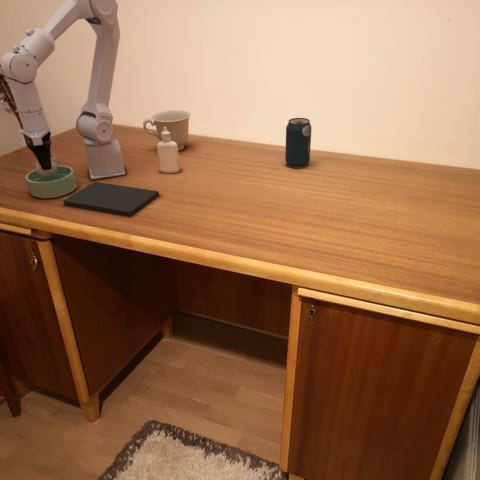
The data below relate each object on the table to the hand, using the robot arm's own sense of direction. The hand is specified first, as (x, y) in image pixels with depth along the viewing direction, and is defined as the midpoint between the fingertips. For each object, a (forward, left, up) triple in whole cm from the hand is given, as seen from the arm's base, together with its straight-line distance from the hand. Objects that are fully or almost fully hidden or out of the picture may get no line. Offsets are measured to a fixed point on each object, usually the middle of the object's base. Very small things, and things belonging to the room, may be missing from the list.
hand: (47, 165), depth 120 cm
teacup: (-36, -20, -7) cm, 42 cm away
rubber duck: (0, 0, -3) cm, 3 cm away
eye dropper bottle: (-32, -1, -7) cm, 33 cm away
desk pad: (-14, +13, -7) cm, 20 cm away
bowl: (0, 0, -7) cm, 7 cm away
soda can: (-67, +9, -7) cm, 68 cm away
